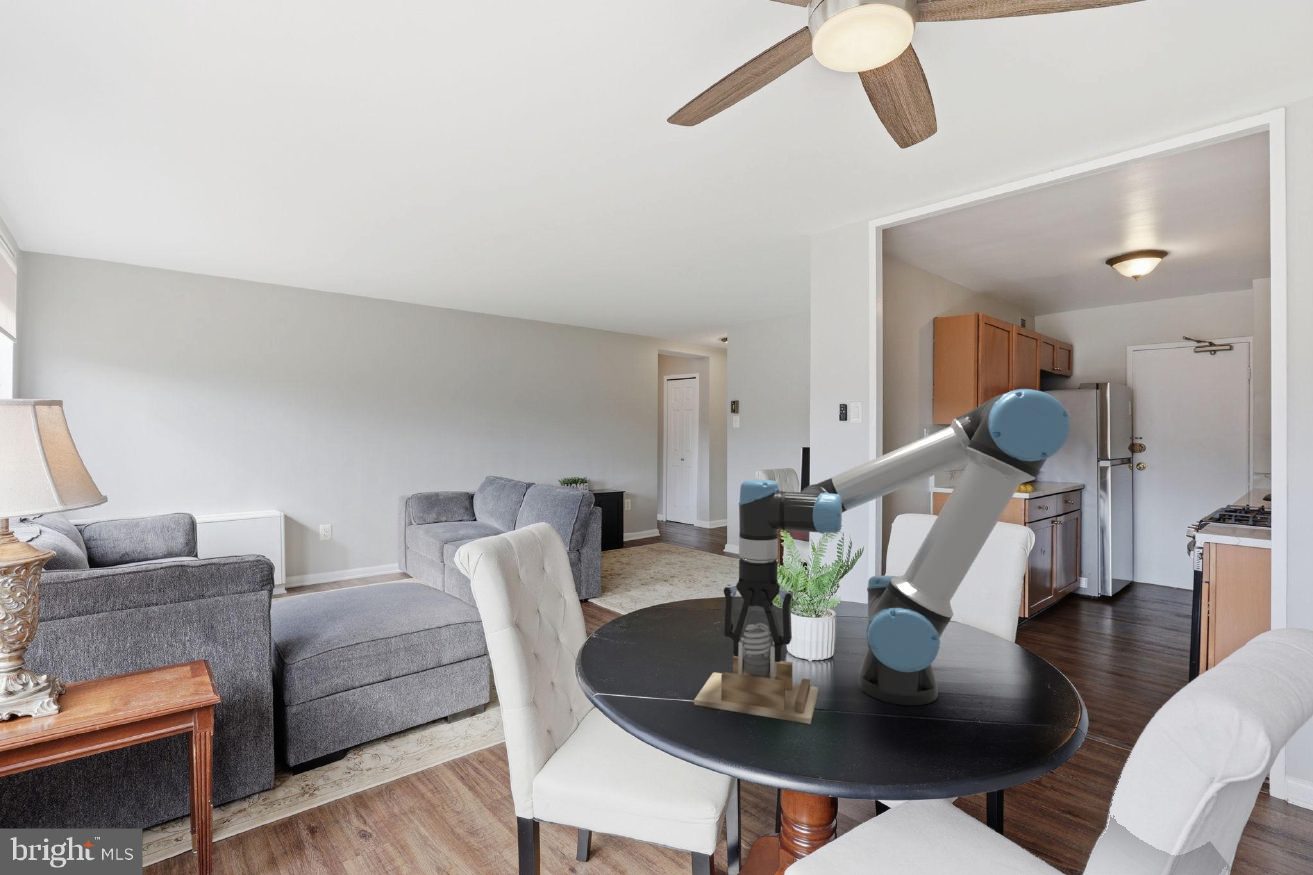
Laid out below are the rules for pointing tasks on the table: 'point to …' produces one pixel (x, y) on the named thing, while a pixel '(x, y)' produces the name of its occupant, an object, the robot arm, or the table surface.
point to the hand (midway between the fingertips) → (757, 674)
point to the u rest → (760, 694)
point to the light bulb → (757, 660)
